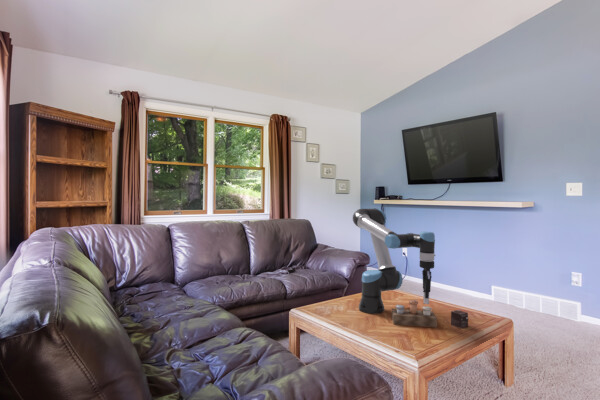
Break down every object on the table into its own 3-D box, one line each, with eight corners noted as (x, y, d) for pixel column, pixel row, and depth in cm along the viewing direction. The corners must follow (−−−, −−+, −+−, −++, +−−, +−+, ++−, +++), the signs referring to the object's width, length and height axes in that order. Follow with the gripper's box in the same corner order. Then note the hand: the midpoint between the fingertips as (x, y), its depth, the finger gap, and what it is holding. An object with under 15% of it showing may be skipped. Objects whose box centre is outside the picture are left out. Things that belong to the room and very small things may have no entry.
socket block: (393, 324, 178) (393, 315, 178) (391, 317, 189) (391, 308, 189) (436, 327, 174) (436, 317, 174) (432, 320, 185) (432, 311, 185)
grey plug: (396, 320, 181) (396, 307, 181) (395, 318, 185) (395, 304, 185) (405, 321, 180) (405, 307, 180) (403, 318, 184) (404, 305, 185)
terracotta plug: (409, 316, 180) (409, 302, 180) (408, 313, 184) (408, 299, 184) (418, 316, 179) (418, 302, 179) (417, 313, 183) (417, 300, 183)
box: (460, 328, 172) (460, 314, 173) (450, 324, 178) (450, 311, 178) (468, 326, 175) (468, 312, 175) (458, 323, 181) (458, 309, 181)
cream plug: (423, 322, 178) (423, 308, 178) (421, 319, 183) (421, 306, 183) (432, 323, 177) (432, 309, 177) (430, 320, 182) (430, 306, 182)
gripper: (436, 262, 173) (436, 307, 173) (431, 258, 186) (431, 300, 186) (421, 262, 175) (421, 306, 175) (417, 257, 188) (417, 299, 188)
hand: (426, 303), depth 181 cm, fingers closed
